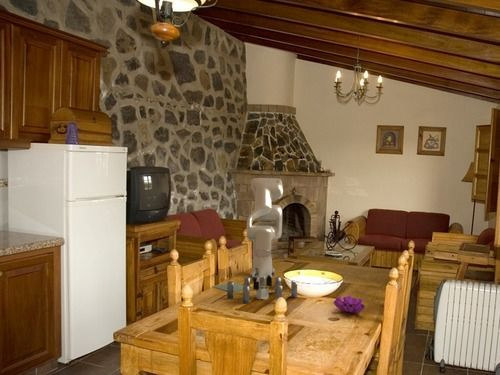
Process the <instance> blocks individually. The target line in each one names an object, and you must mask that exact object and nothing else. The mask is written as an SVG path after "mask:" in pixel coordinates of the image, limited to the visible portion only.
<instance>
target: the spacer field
mask: <svg viewBox="0 0 500 375" xmlns="http://www.w3.org/2000/svg"><path fill="white" fill-rule="evenodd" d="M281 279H282V277H280V276H275V277H274V293H275V300H276V299H277V298H279V297H282V298H283V285H282V283H281V282H282V280H281ZM293 281H294V280H291V282H290V284H291V285H290V286H291V287H290V298H291V299H297V298H298V283H297V284H296V282H293ZM226 283H227V291H226V292H227V294H226V298H227V299H230V300H233V299H234V293H233V287H234V283H235V282H234V281H232V280H230V281H227V282H226ZM243 285H244V286H243V290H242V304H245V305H246V304H247V305H248V304H250V292H251V290H250V289H251V288H250V287H251V276H250V277H249V276H245V277H244V279H243ZM260 286H265V287H266V278H265V277H260V279H259V287H260Z"/></svg>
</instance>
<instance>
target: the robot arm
mask: <svg viewBox="0 0 500 375" xmlns="http://www.w3.org/2000/svg"><path fill="white" fill-rule="evenodd" d="M250 187H251V189H252V192H253V195H254V198H255V199H254V201H255V202H254V210H252V211H251V212H250V213H249V216H248V217H247V221H246V238H247V239H248V240H249V241H252V271H251V272H250V273H249V275H250V279H251V281H252V282H253V287H252V288H253V290H255V291H256V290H259V283H260V277H265V286H266V287H272V284H273V279H274V278H273V277H274V274H275V270H276V268H274V267H273V260H272V259H273V258H272V241H273V240H278V239H280V238H281V237H282V234H283V209H282V207H281V205H279V204H272V200H273V199H281V198H282V197H283V194H284V186H283V182H282V180H281V179H280V178H277V177H273V178H272V177H255V178H253V179H251V181H250ZM255 220H257V221H261V222H255V223H254V224H253V222H254V221H255ZM262 221H263V222H262Z"/></svg>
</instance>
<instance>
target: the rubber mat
mask: <svg viewBox="0 0 500 375" xmlns="http://www.w3.org/2000/svg"><path fill="white" fill-rule="evenodd" d="M243 286H244V284H240V283H236V282H234V287H233V294H234V293H238V292H241V291H243ZM213 288H214V289H218V290H221V291H225V292H227V282H226V283H223V284H219V285H214V286H213ZM250 289H251V286H250Z"/></svg>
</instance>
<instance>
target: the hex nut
mask: <svg viewBox="0 0 500 375" xmlns="http://www.w3.org/2000/svg"><path fill="white" fill-rule="evenodd" d="M269 287H270V286H266V285H265V286H260V287H259V290H255V291H256V294H255V295H256V296H255V297H256V298H255V299H257V300H261V299H263V300H268V299H269V290H270V289H269Z"/></svg>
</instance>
